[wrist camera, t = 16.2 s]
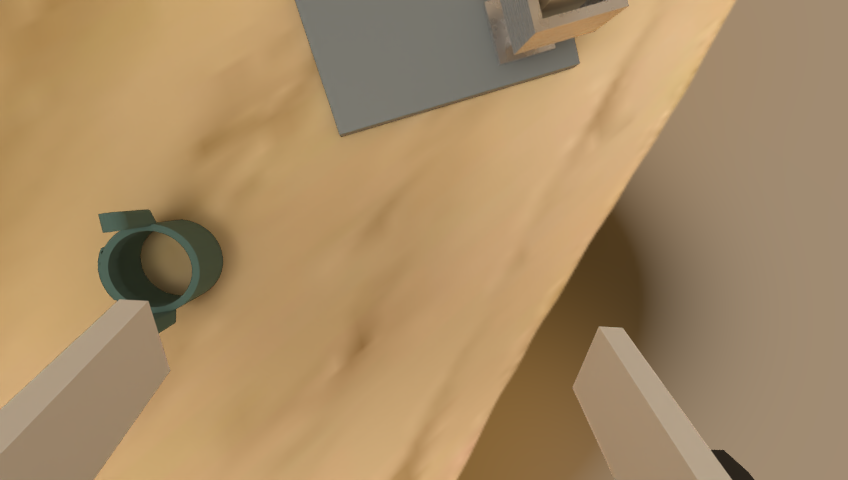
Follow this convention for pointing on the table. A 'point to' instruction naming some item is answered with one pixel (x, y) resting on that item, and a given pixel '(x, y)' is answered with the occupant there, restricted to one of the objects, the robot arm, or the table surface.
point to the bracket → (125, 269)
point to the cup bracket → (541, 25)
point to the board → (410, 57)
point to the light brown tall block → (558, 6)
